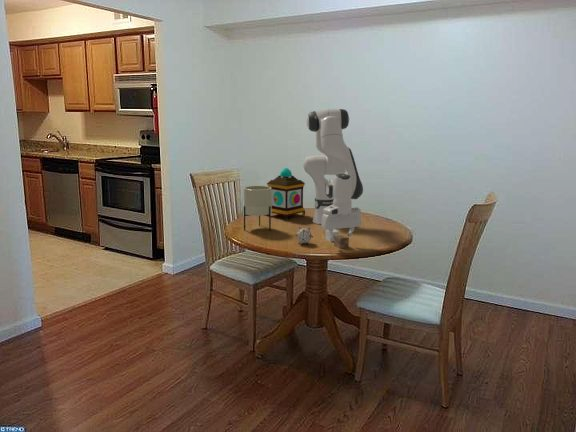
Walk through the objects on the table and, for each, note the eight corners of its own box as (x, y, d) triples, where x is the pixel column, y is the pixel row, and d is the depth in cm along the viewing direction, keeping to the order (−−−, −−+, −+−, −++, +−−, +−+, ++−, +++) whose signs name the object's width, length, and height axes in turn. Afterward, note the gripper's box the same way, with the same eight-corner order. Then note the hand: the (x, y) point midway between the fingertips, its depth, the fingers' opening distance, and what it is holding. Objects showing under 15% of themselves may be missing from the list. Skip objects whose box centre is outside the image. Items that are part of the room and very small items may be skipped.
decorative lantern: (263, 216, 289) (262, 167, 282) (284, 211, 303) (285, 165, 296) (286, 221, 275) (287, 170, 269) (308, 216, 290) (309, 167, 283)
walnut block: (342, 244, 227) (343, 235, 226) (348, 247, 223) (348, 237, 222) (334, 246, 225) (334, 236, 224) (339, 248, 221) (339, 238, 220)
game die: (299, 250, 230) (290, 232, 232) (314, 243, 232) (305, 225, 234) (302, 246, 222) (293, 228, 224) (318, 238, 224) (308, 220, 226)
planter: (239, 227, 260) (238, 186, 255) (264, 224, 267) (264, 184, 262) (249, 233, 247) (248, 190, 242) (276, 230, 254) (276, 188, 249)
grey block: (333, 238, 239) (334, 229, 238) (338, 240, 234) (339, 231, 233) (325, 239, 237) (325, 230, 235) (330, 242, 232) (330, 232, 231)
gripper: (356, 206, 227) (355, 233, 230) (320, 209, 218) (319, 237, 221) (364, 208, 221) (363, 236, 224) (326, 211, 213) (326, 240, 215)
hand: (341, 237), depth 222 cm, fingers open, 8 cm apart
